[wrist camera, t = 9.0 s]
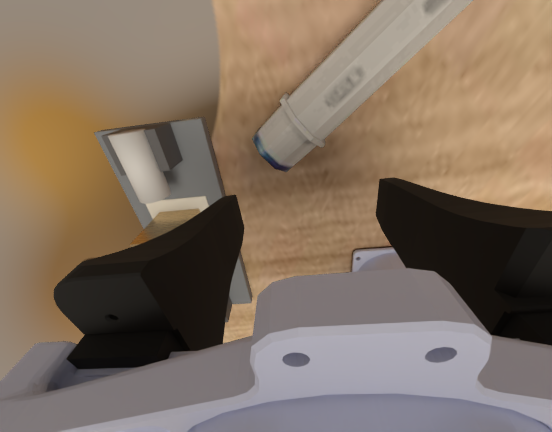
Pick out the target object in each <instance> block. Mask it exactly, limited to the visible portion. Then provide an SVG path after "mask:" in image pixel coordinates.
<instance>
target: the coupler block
mask: <svg viewBox="0 0 552 432" xmlns="http://www.w3.org/2000/svg"><path fill="white" fill-rule="evenodd" d="M199 213H200V210H199V209H188V210H177V211H166V212H159V213H158V214H157V215H156V217H155V218H154V219H153V220H152V221H151V222H150V223H149V224H148V225H147V226H146V227H145V228H144V230H143V231H142V232H141V233H140V234H139V235H138V236H137V237H136V238H135V239H134V240H133V242H132V243H131V244H130V246H131V247H134V246H136V245H139V244H141V243H144V242H147V241H149V240H151V239H153V238H156V237H158V236H160V235H162V234H165V233H167V232H169V231H171V230H173V229H174V228H176V227H178V226H180V225H182V224H183V223H185V222H187V221H188V220H190V219H191V218H193V217H194V216H196V215H197V214H199Z"/></svg>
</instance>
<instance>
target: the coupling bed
mask: <svg viewBox="0 0 552 432" xmlns="http://www.w3.org/2000/svg"><path fill="white" fill-rule="evenodd" d="M94 134H95V136H96V137H97V139H98V141H99V143H100V145H101V147H102V149H103V151H104V153H105V155H106V157H107V159H108V161H109V163H110V165H111V167H112V168H113V170H114V172H115V174H116V176H117V178H118V180H119V182H120V184H121V186H122V188H123V190H124V191H125V193H126V195H127V197H128V199H129V201H130V203H131V205H132V207H133V209H134V211H135V213H136V215H137V217H138V219H139V220H140V222H141V224H142V226H143V228H145V227H146V226H147V225H148V224H149V223H150V222H151V221H152V220H153V219H154V218H155V217H156V215H157V214H158V213H159V212H166V211H177V210H188V209H199V210H200V212H202V211H203V210H205V209H206V208H207V207H209V206H210V205H212V204H213V203H214V202H216V201H217V200H219V199H220V198H222V197H224V196H226V195H225V192H224V188H223V184H222V180H221V176H220V173H219V169H218V165H217V161H216V158H215V154H214V150H213V146H212V143H211V139H210V135H209V131H208V127H207V124H206V120H205V117H199V118H191V119H184V120H176V121H169V122H161V123H153V124H145V125H138V126H130V127H122V128H115V129H107V130H101V131H98V132H95V133H94ZM251 302H252V293H251V290H250V286H249V282H248V278H247V275H246V271H245V267H244V263H243V259H242V256H241V252H240V253H239V257H238V260H237V263H236V267H235V270H234V274H233V277H232V281H231V286H230V292H229V298H228V305H227V312H226V319H225V322H228V320H229V316H230V312H231V307H232V304H244V303H251Z"/></svg>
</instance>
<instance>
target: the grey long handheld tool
mask: <svg viewBox="0 0 552 432" xmlns="http://www.w3.org/2000/svg"><path fill="white" fill-rule="evenodd" d="M472 1H473V0H382V1H381V2H380V3H379V4H378V5H377V6H376V7H375V8H374V9H373V10H372V11H371V12H370V13H369V14H368V15H367V16H366V17H365V18H364V19H363V20H362V21H361V22H360V23H359V24H358V25H357V26H356V27H355V29H354V30H353V31H352V32H351V33H350V34H349V35H348V36H347V37H346V38H345V39H344V40H343V41H342V42H341V43H340V44H339V45H338V46H337V47H336V48H335V49H334V50H333V51H332V52H331V53H330V54H329V55H328V56H327V58H326V59H325V60H324V61H323V62H322V63H321V64H320V65H319V66H318V67H317V68H316V69H315V70H314V71H313V72H312V73H311V74H310V75H309V76H308V77H307V78H306V79H305V80H304V81H303V82H302V83H301V84H300V85H299V87H298V88H297V89H296V90H295V91H294V92H293V93H292V94H291V95H288V94H287V93H285V94H284V95H283V96H282V98H281V100H280V103H281V104H282V105H281V106H280V107H279V108H278V109H277V110H276V111H275V112H274V113H273V114H272V116H271V117H270V118H269V119H268V120H267V121H266V122H265V123H264V124H263V125H262V126H261V128H260V129H259V130H258V131H257V132H256V133H255V135H254V136H253V138H252V140H253V142H254V144H255V146H256V148H257V150H258V152H259V154H260V155H261V156H262V157H263V158H264V159H265V160H266V161H267V162H268V163H269V164H270V165H272V166H273V167H274V168H275V169H278V170H281V171H285V172H287V171H288V170H289V169H290V168H292V167H293V166H294V165H295V164H296V163H297V162H299V161H300V160H301V159H302V158H303V157H304V156H305V155H307V154H308V153H309V152H310V151H311V150H312V149H314V148H315V147H316V146H319V147H321V148H322V147H323V146H325V138H326V137H327V136H328V135H329V134H330V133H331V132H332V131H334V130H335V129H336V128H337V127H338V126H339V125H340V124H341V123H342V122H343V121H344V120H345V119H346V118H347V117H349V116H350V115H351V114H352V113H353V112H354V111H355V110H356V109H357V108H358V107H359V106H360V105H361V104H363V103H364V102H365V101H366V100H367V99H368V98H369V97H370V96H371V95H372V94H373V93H374V92H375V91H376V90H378V89H379V88H380V87H381V86H382V85H383V84H384V83H385V82H386V81H387V80H388V79H389V78H390V77H391V76H393V75H394V74H395V73H396V72H397V71H398V70H399V69H400V68H401V67H402V66H403V65H404V64H405V63H407V62H408V61H409V60H410V59H411V58H412V57H413V56H414V55H415V54H416V53H417V52H418V51H419V50H420V49H422V48H423V47H424V46H425V45H426V44H427V43H428V42H429V41H430V40H431V39H432V38H433V37H434V36H436V35H437V34H438V33H439V32H440V31H441V30H442V29H443V28H444V27H445V26H446V25H447V24H448V23H449V22H451V21H452V20H453V19H454V18H455V17H456V16H457V15H458V14H459V13H460V12H461V11H462V10H463V9H464V8H466V7H467V6H468V5H469V4H470V3H471V2H472Z"/></svg>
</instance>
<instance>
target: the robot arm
mask: <svg viewBox="0 0 552 432" xmlns="http://www.w3.org/2000/svg"><path fill="white" fill-rule="evenodd" d="M376 217H377V219H378V222H379V224H380V226H381V229H382V231H383V232H384V234H385V236H386V237H387V239H388V240H389V242H390V244H391V245H392V247H390V248H376V249H362V250H355V251H354V252H353V261H352V272H347V273H333V274H319V275H304V276H294V277H290V278H287V279H283V280H279V281H276V282H272V283H271V284H270V285H269V286H268V287H267V288H265V289H264V290H263V291H262V292H261V293H260V294H259V295H258V298H257V306H256V314H255V322H254V330H253V336H249V337H246V338H242V339H238V340H235V341H231V342H228V343H224V344H223V335H224V327H225V319H226V312H227V305H228V298H229V292H230V286H231V281H232V277H233V274H234V270H235V267H236V263H237V260H238V257H239V253H240V249H241V246H242V242H243V234H244V224H243V220H242V216H241V213H240V209H239V205H238V201H237V197H236V195H230V196H224V197H222V198H220V199H219V200H217V201H216V202H214V203H213V204H212V205H210V206H209V207H207V208H206V209H205V210H203V211H202V212H200V213H199V214H197V215H196V216H194V217H193V218H191V219H190V220H188V221H187V222H185V223H183V224H182V225H180V226H178V227H176V228H174V229H173V230H171V231H169V232H167V233H165V234H162V235H160V236H158V237H156V238H153V239H151V240H149V241H147V242H144V243H141V244H139V245H136V246H134V247H131V248H128V249H125V250H122V251H119V252H116V253H112V254H109V255H105V256H102V257H98V258H95V259H91V260H87V261H84V262H82V263H80V264H79V265H78V266H77V267H76V268H75V269H74V270H72V271H71V272H70V273H69V274H68V275H67V276H66V277H65V278H64V279H62V281H60V282H59V283H58V284H57V286H56V287H55V289H54V300H55V302H56V304H57V306H58V307H59V309H60V310H61V311H62V313H63V314H64V315H65V316H66V317H68V319H70V321H71V322H72V323H73V324H74V325H75V326H76V327H77V328H79V330H80V331H81V332H82V333H83V334H85V335H84V337H83V338H82V339H81V340H80V342H79V343H78V344H75V343H72V342H66V341H63V342H41V343H37V344H35V345H34V346H33V347H32V348H31V349H30V350H29V351H28V352H27V353H26V354H25V355H24V356H23V357H22V359H21V360H20V361H19V362H18V363H17V364H16V365H15V366H14V367H13V368H12V369H11V370H10V371H9V372H8V373H7V375H6V376H5V377H4V378H3V379H2V380H1V381H0V432H552V211H542V210H532V209H523V208H516V207H509V206H502V205H495V204H489V203H484V202H479V201H474V200H470V199H465V198H461V197H457V196H453V195H450V194H446V193H442V192H439V191H436V190H433V189H429V188H426V187H423V186H420V185H417V184H414V183H411V182H408V181H405V180H402V179H398V178H385V179H380V181H379V190H378V199H377V209H376ZM357 257H359V258H357Z"/></svg>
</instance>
